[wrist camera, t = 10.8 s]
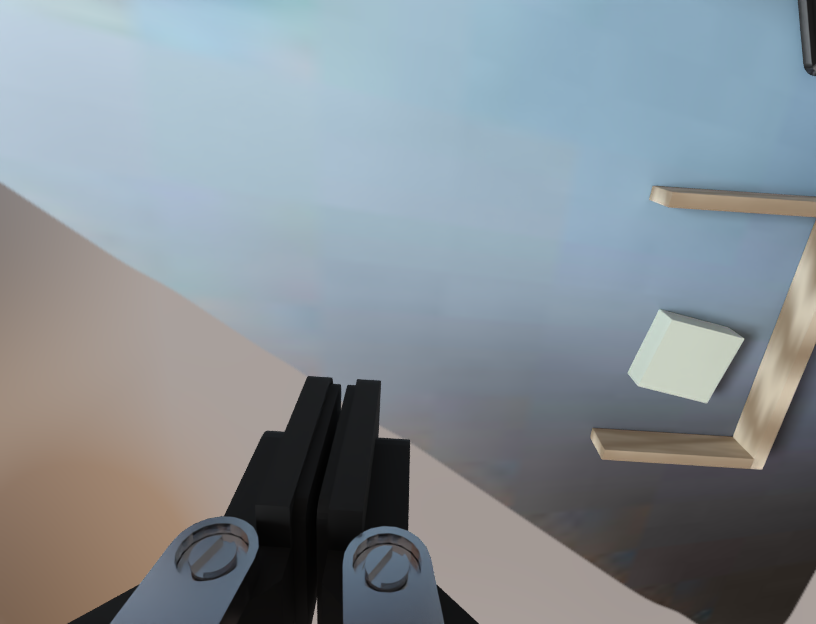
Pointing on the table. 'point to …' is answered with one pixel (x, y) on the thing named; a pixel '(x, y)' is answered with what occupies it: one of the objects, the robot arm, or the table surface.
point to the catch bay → (779, 370)
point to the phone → (808, 34)
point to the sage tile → (684, 356)
